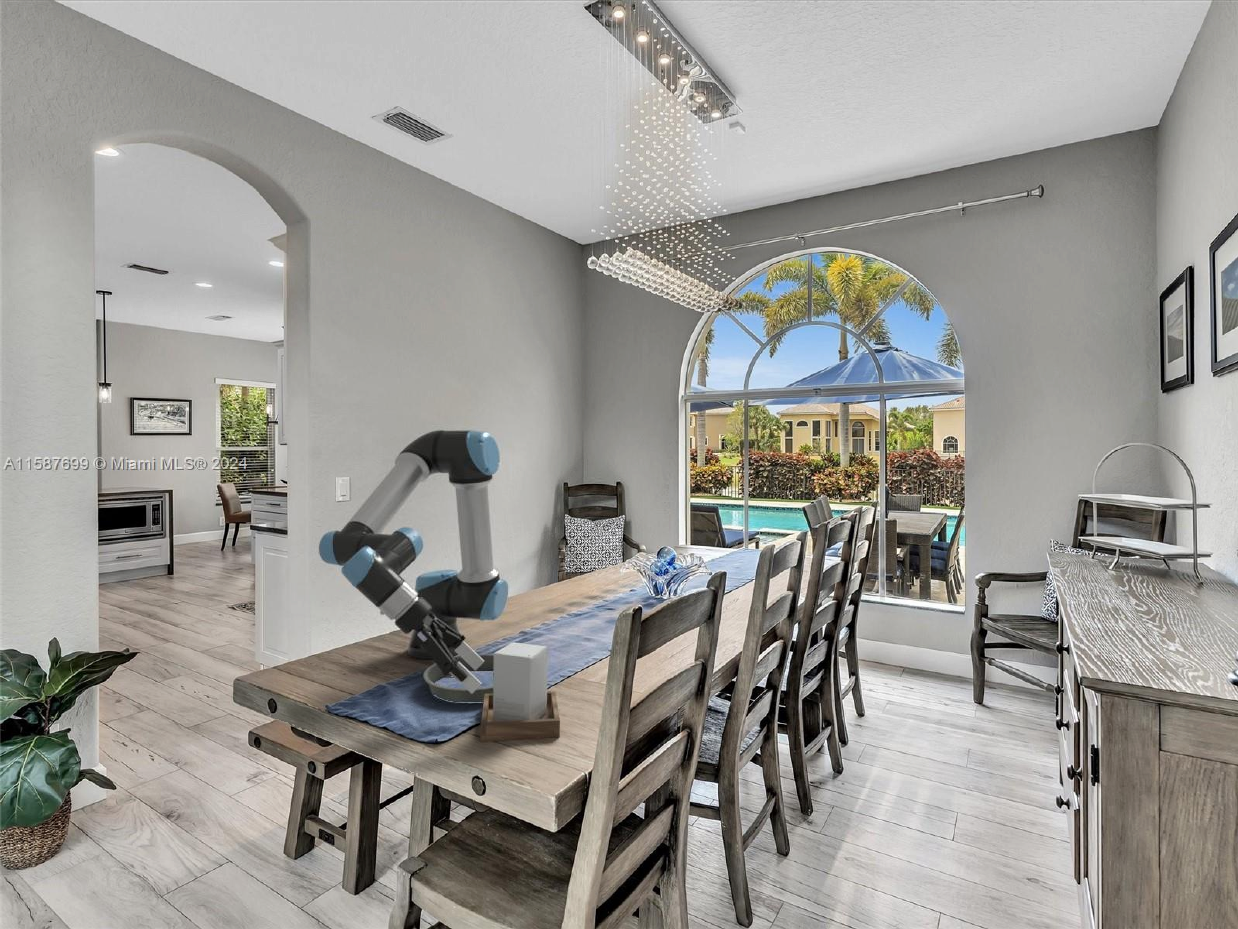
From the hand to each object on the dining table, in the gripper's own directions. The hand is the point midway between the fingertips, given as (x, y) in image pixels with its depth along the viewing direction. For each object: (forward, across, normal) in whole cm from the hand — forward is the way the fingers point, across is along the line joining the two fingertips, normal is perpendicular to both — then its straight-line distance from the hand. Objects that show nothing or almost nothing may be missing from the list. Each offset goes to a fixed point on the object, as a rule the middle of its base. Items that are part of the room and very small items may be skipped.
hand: (478, 676), depth 136 cm
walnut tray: (+14, 0, -1) cm, 14 cm away
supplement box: (+13, 0, 0) cm, 13 cm away
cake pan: (+7, -22, -9) cm, 25 cm away
